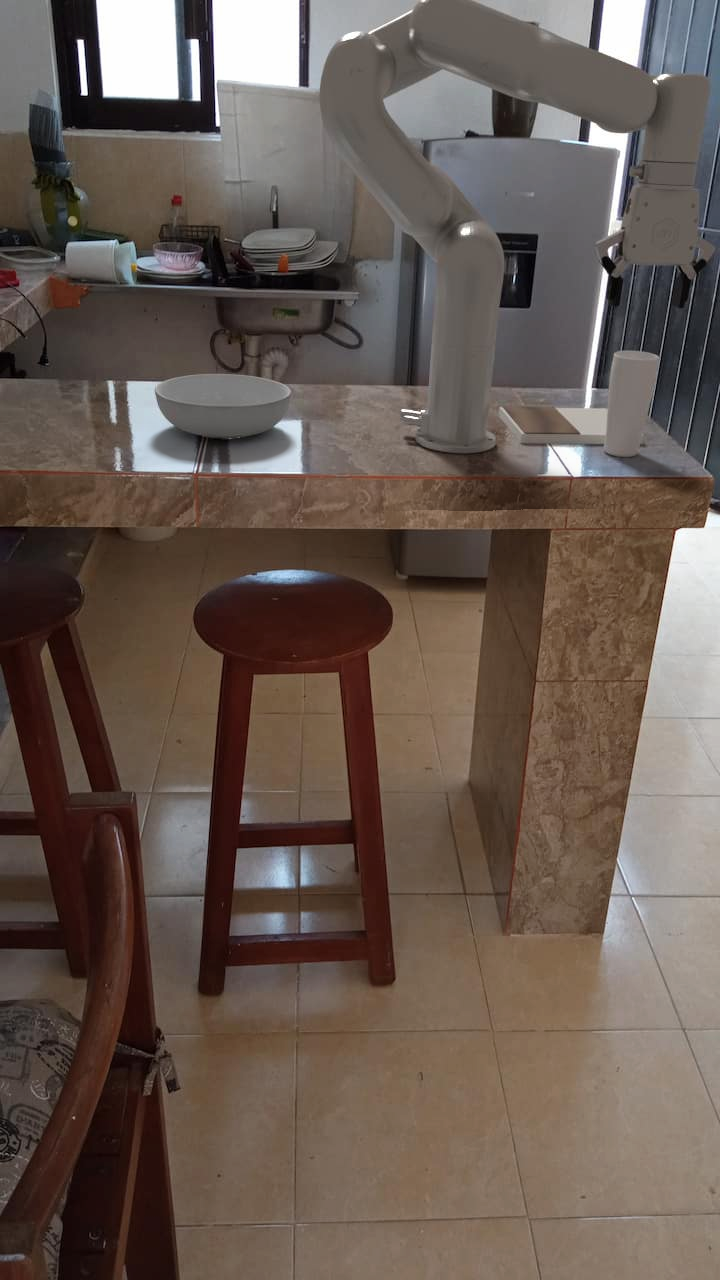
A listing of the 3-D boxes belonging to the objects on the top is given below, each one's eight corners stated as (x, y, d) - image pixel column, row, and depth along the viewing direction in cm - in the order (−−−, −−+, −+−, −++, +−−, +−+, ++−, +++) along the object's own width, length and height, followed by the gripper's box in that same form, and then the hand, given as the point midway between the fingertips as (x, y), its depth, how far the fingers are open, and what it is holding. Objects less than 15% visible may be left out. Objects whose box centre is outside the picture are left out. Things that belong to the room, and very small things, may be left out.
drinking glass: (636, 462, 151) (653, 362, 144) (592, 454, 154) (607, 355, 147) (647, 451, 157) (665, 354, 150) (605, 443, 160) (620, 348, 153)
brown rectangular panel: (523, 442, 158) (524, 432, 157) (501, 415, 172) (502, 406, 171) (578, 443, 159) (580, 433, 158) (552, 416, 173) (553, 406, 172)
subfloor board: (520, 443, 158) (521, 434, 157) (498, 415, 172) (499, 407, 171) (642, 444, 160) (644, 435, 159) (611, 417, 174) (612, 408, 173)
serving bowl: (305, 447, 152) (306, 402, 149) (167, 455, 146) (164, 408, 143) (273, 411, 170) (273, 370, 166) (149, 417, 164) (146, 374, 160)
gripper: (614, 176, 133) (595, 309, 141) (738, 180, 135) (713, 312, 143) (597, 172, 140) (580, 300, 148) (715, 177, 141) (692, 302, 149)
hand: (645, 305), depth 145 cm, fingers open, 9 cm apart
